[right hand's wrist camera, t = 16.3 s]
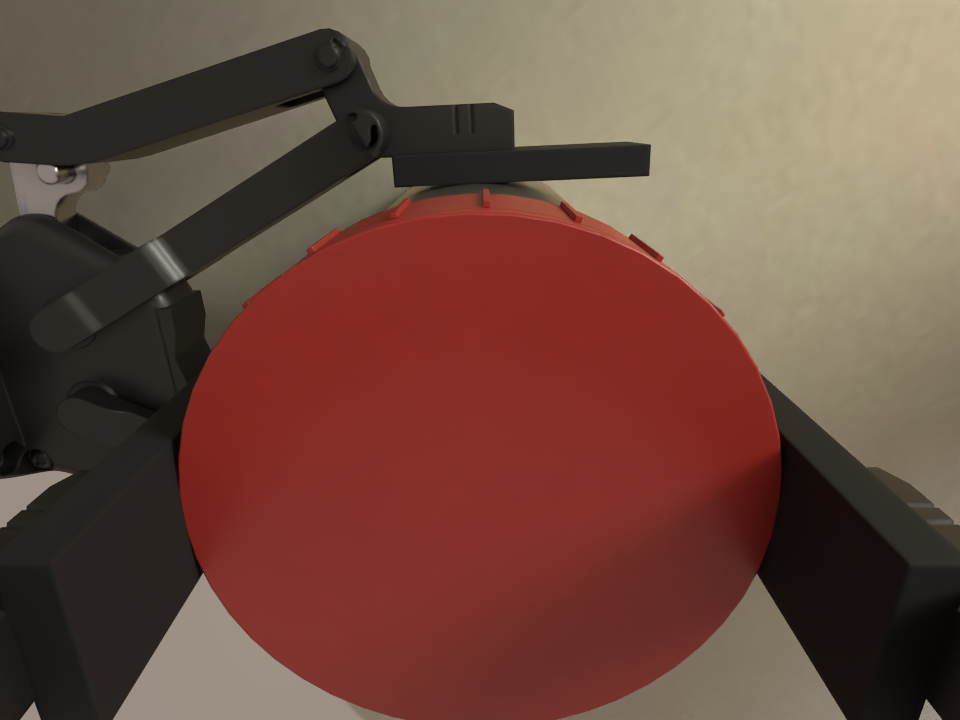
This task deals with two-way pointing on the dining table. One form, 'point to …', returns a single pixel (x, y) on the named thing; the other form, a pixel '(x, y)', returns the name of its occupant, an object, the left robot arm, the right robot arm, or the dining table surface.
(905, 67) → the dining table surface
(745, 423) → the lid
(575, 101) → the dining table surface
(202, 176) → the dining table surface
